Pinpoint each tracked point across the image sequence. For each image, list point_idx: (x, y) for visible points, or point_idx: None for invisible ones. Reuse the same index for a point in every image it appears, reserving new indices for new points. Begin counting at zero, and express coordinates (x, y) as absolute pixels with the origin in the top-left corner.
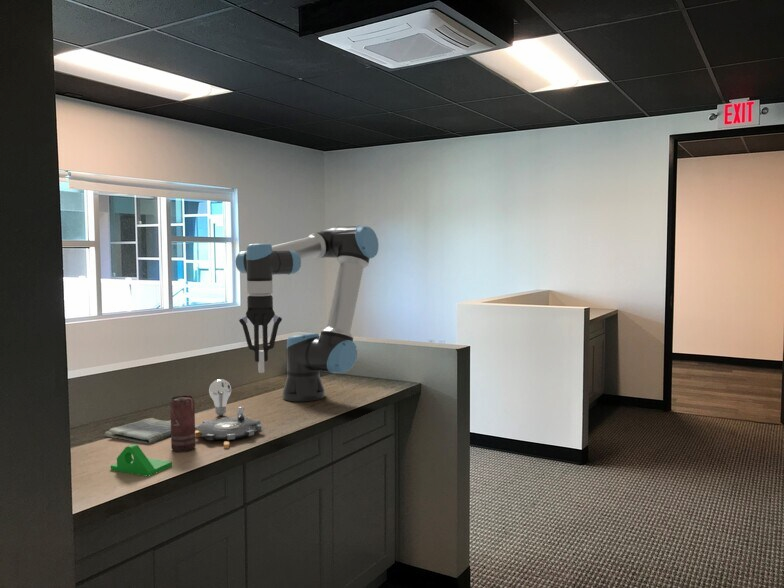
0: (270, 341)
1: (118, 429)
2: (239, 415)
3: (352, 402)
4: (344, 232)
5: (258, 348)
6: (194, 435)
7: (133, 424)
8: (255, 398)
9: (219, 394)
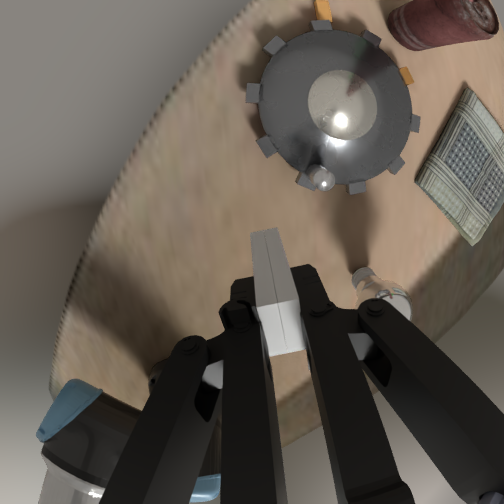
0: (208, 409)
1: None
2: (321, 166)
3: (88, 338)
4: None
5: (307, 319)
6: (400, 12)
7: (497, 190)
8: (286, 382)
9: (386, 283)
